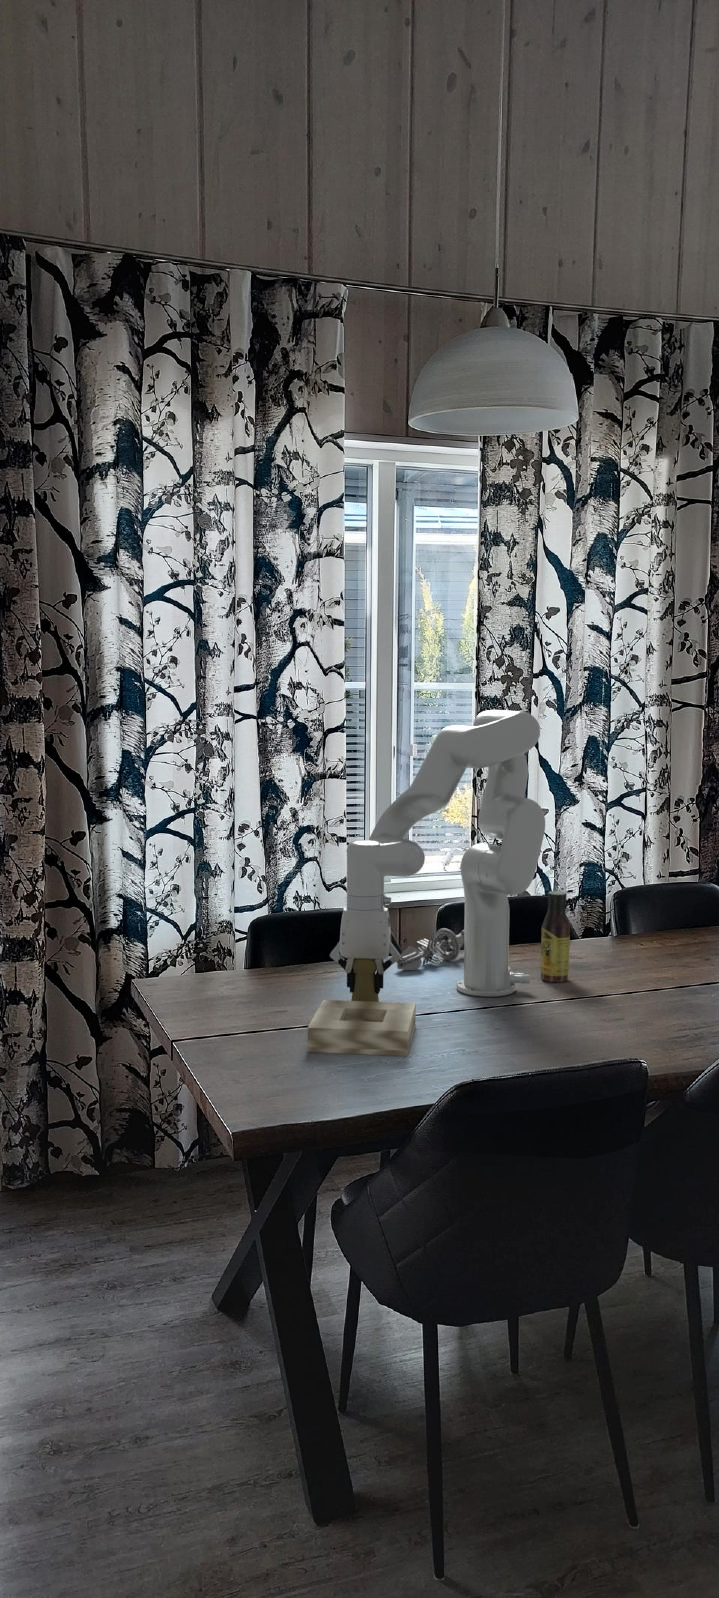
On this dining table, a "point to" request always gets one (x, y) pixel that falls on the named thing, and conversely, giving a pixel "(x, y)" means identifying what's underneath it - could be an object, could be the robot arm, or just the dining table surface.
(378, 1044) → the socket block
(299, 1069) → the dining table surface
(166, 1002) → the dining table surface
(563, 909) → the sauce bottle
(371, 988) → the cork
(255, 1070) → the dining table surface
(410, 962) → the spaceship
